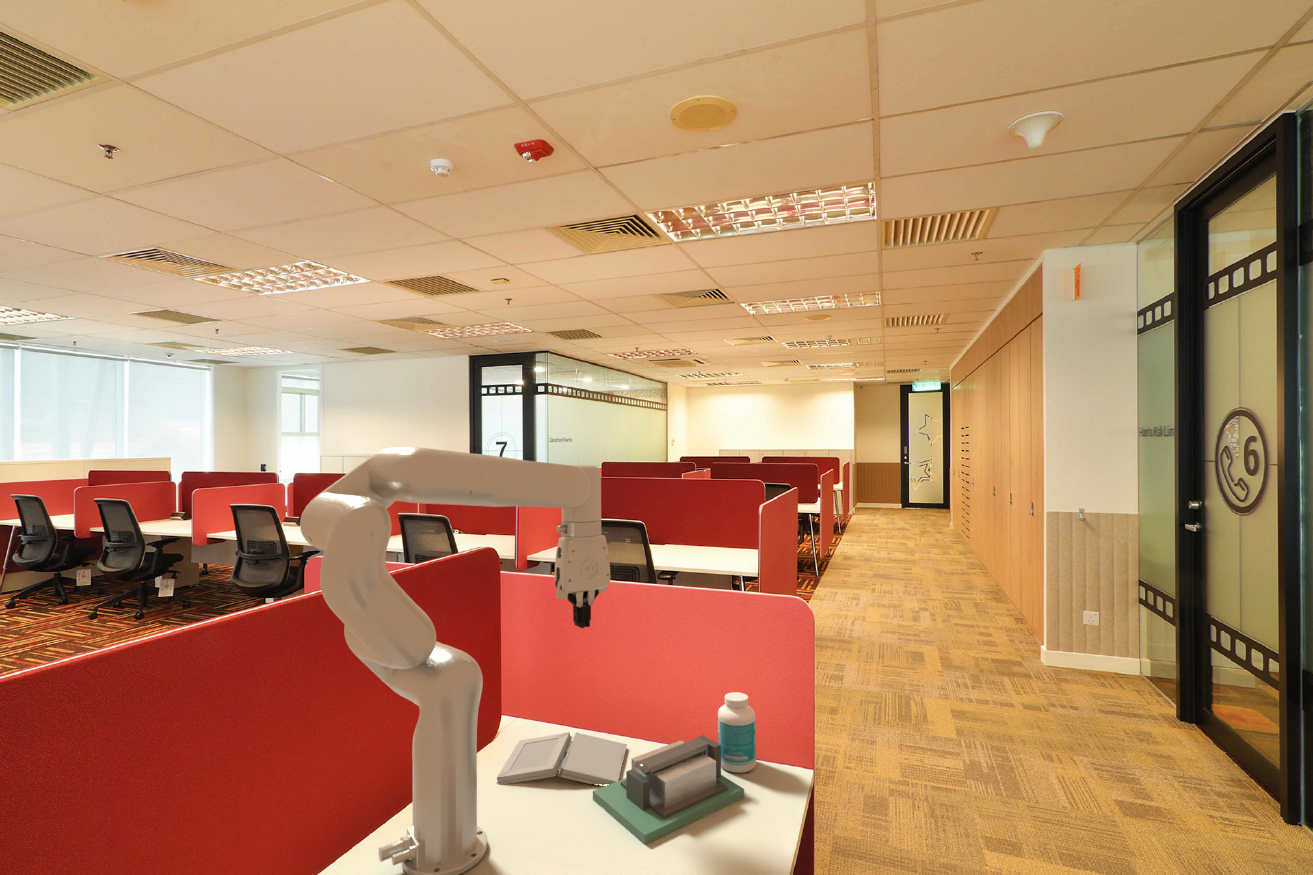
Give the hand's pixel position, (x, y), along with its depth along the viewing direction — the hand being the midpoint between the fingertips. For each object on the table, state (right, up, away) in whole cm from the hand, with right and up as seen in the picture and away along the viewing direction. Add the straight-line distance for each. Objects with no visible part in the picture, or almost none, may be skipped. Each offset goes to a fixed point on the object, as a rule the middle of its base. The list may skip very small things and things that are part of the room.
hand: (582, 625), depth 118 cm
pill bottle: (+30, -29, +4) cm, 42 cm away
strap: (+17, -24, -6) cm, 30 cm away
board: (+16, -29, -7) cm, 34 cm away
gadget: (-4, -30, +5) cm, 31 cm away
